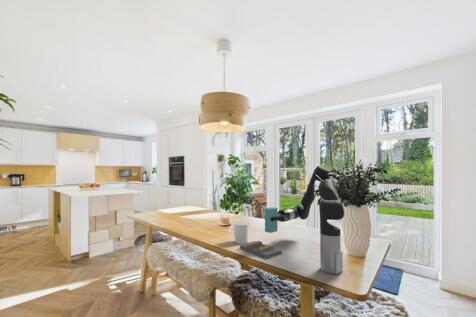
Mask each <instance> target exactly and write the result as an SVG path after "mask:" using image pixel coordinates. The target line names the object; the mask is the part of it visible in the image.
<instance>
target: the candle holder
mask: <svg viewBox="0 0 476 317" xmlns="http://www.w3.org/2000/svg"><path fill="white" fill-rule="evenodd" d="M233 226H234V227H233V228H234V229H233V230H234V243H235V244H239V245H242V244H245V243H249V242H248V241H249V226H250V224H249V222H247V221H235V222H234V223H233Z"/></svg>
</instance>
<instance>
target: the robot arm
mask: <svg viewBox="0 0 476 317" xmlns="http://www.w3.org/2000/svg"><path fill="white" fill-rule="evenodd" d="M330 171H331V169H327V168H325V167H323V166H321V165H318V166H316V167H315V169H314V170H313V173H312V174H311V177H310V180H309V182H308V184H307V188H306V190H305V192H304V195H303V196H302V198H301V200H300V204H297V205H296V206H294V207H292V208H284V209H279V210H277V216H276V217H271V221H277V222H281V223H285V222H289V221H292V220H296V219H298V218H299V219H300V220H303V221H304V220H307V219H308V217H309V215H310V210H311V206H312V204H313V203H314V201H315V199H316V195H315V196H314V192H315V193H316V190H315V183H316V181H317V182H320V183H319V185H318V194H319V196H320V197H321V200H320V201H319V226H320V227H319V236H320V237H319V240H320V241H319V246H320V249H319V253H320V254H319V255H320V256H319V259H320V260H319V262H320V264H319V265H320V266H319V267H320V268H319V269H320V270H321V271H322V272H324V273H326V274H332V275H336V276H337V275H339V274H340V273H342V272H343V271H344V270H343V268H344V267H343V266H344V265H343V264H344V262H343V254H344V253H343V250H341V248H342V245H341V241H342V240H341V238H342V237H341V229H340V227H338V226H336V225H334V224H331V223H329V222H328V220H329V221H330V220H332V221H335V220H336V221H340V220H342V219H343V218H344V217H345V208H344V205H343V202H342V200H341V199H340V196H339V194H338V190H337V187H336V185H335V181H334V178H331V177H330V178H329V177H328V175H327V174H328V173H329V172H330ZM315 174H316V175H318V176H319V177H320V178H321V179H322V180H324V181H321V180H320V179H319V178H318V177H317V176H316V175H315ZM326 179H327V180H326Z"/></svg>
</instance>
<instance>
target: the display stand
mask: <svg viewBox="0 0 476 317" xmlns="http://www.w3.org/2000/svg"><path fill="white" fill-rule="evenodd" d="M239 249H240V250H243V251H246V252H249V253H251V254H253V255H256V256H259V257H261V258H264V259H266V260H268V258H269V259H271V258H274V257H276V256H279V255H282V249H279V248H276V247H275V246H274V245H273V244H268V245H267V244H264V243H263V242H262V241H261V240H256V241H255V240H253V241H250V242H247V243H244V244H239Z"/></svg>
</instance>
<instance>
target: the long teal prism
mask: <svg viewBox="0 0 476 317" xmlns="http://www.w3.org/2000/svg"><path fill="white" fill-rule="evenodd" d="M277 213H278V207H273V206H272V207H265V208H264V232H266V233H270V234H272V233H276V232H278V221H271V217H276V216H277Z"/></svg>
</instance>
